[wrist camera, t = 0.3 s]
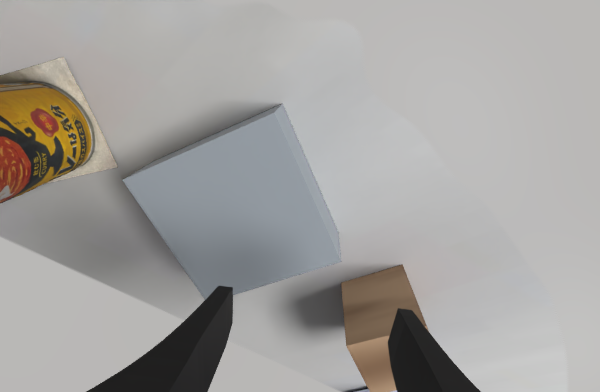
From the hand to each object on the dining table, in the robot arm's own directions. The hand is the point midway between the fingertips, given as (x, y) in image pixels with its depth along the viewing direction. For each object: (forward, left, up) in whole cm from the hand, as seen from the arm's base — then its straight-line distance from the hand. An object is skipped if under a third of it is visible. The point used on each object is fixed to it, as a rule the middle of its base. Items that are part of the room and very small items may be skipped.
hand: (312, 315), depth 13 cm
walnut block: (-9, -2, -10) cm, 13 cm away
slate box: (+3, +4, -10) cm, 11 cm away
